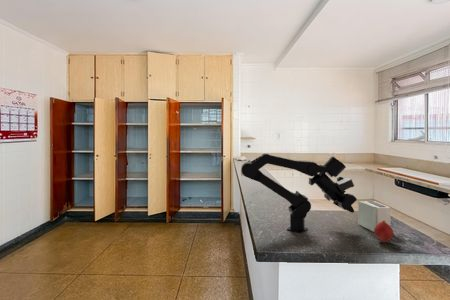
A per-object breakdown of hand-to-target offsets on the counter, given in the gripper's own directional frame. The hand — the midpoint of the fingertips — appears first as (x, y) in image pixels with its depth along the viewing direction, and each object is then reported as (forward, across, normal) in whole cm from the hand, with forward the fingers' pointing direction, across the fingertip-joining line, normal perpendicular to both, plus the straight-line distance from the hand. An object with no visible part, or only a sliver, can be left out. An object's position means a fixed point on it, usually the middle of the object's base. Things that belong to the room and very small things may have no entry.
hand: (353, 211), depth 109 cm
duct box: (+12, 0, -2) cm, 12 cm away
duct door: (+9, 0, +1) cm, 9 cm away
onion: (+8, -14, +2) cm, 16 cm away
